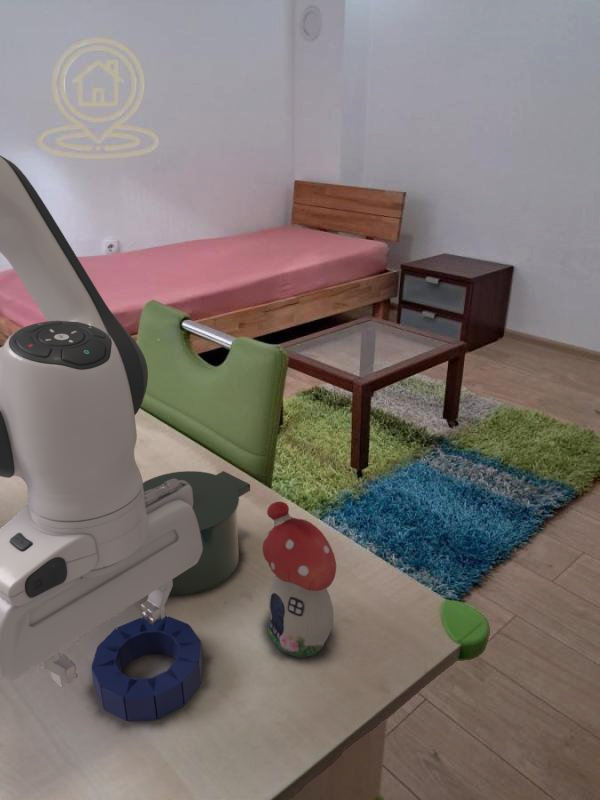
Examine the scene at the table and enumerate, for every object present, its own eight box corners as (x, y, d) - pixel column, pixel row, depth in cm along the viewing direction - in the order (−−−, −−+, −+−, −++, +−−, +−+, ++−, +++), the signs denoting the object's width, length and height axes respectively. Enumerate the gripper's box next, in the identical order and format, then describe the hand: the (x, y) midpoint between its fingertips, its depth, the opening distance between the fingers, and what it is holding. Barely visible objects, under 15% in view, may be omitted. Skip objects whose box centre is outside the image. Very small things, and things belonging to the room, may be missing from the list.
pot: (205, 509, 90) (199, 424, 84) (275, 548, 82) (274, 458, 76) (59, 590, 74) (41, 493, 69) (128, 649, 66) (114, 544, 61)
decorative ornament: (255, 611, 71) (252, 498, 65) (308, 595, 74) (310, 485, 68) (286, 672, 64) (287, 550, 57) (344, 652, 66) (351, 534, 60)
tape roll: (85, 724, 58) (81, 700, 57) (108, 640, 67) (105, 618, 66) (197, 718, 59) (196, 694, 57) (205, 635, 68) (203, 614, 67)
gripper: (167, 460, 61) (179, 574, 67) (-53, 564, 47) (-14, 698, 52) (212, 482, 57) (220, 602, 63) (-13, 603, 43) (24, 743, 49)
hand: (112, 647), depth 57 cm, fingers open, 8 cm apart
